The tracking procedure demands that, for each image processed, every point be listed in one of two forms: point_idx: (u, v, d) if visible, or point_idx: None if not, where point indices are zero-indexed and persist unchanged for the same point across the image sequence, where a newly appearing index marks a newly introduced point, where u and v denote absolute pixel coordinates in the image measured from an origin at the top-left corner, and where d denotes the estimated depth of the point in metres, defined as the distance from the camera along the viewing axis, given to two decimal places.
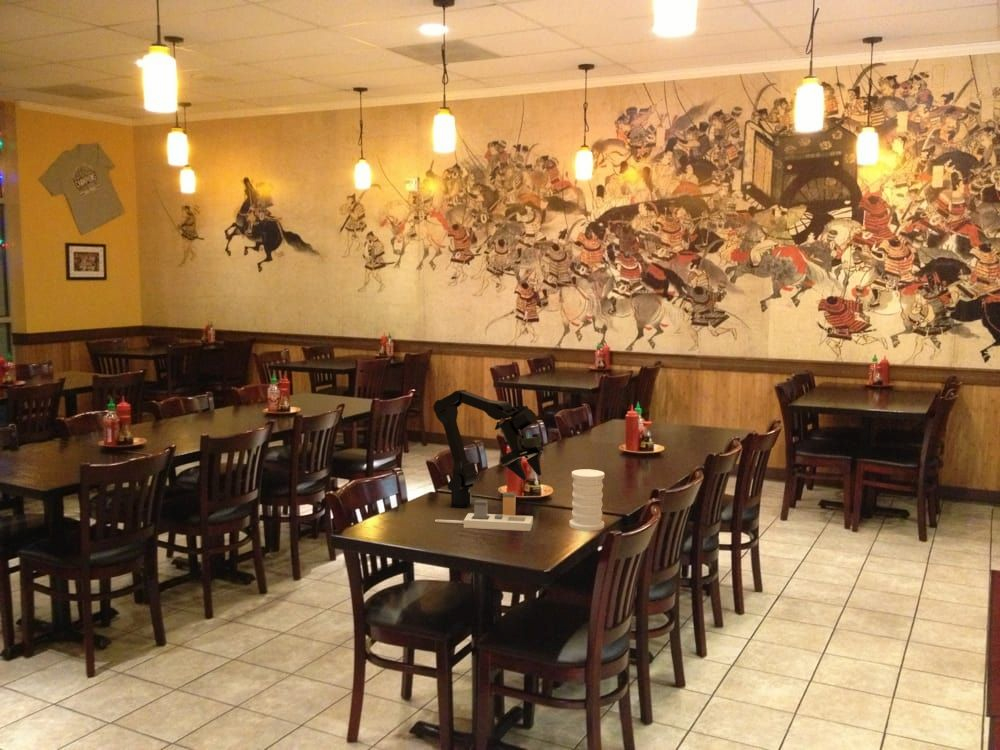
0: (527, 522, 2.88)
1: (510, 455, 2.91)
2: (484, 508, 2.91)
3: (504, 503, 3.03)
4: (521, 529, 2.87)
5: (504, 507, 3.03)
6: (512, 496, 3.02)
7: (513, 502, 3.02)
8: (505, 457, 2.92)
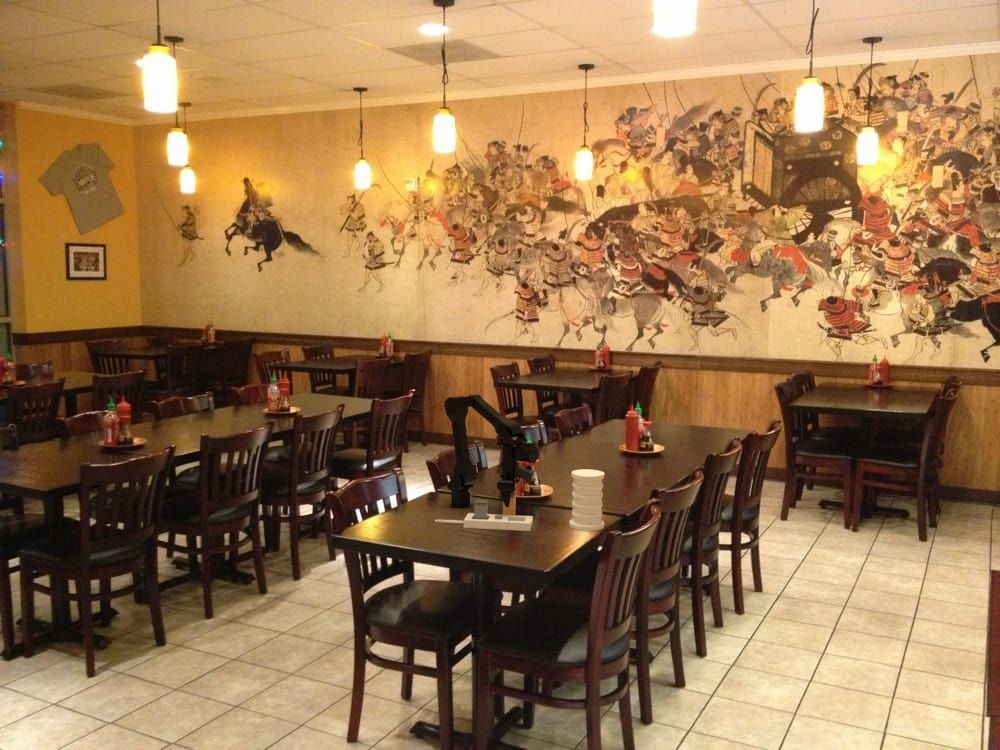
0: (527, 522, 2.88)
1: (512, 485, 2.93)
2: (484, 508, 2.91)
3: None
4: (521, 529, 2.87)
5: (504, 507, 3.03)
6: (512, 496, 3.02)
7: (513, 502, 3.02)
8: (506, 484, 2.94)
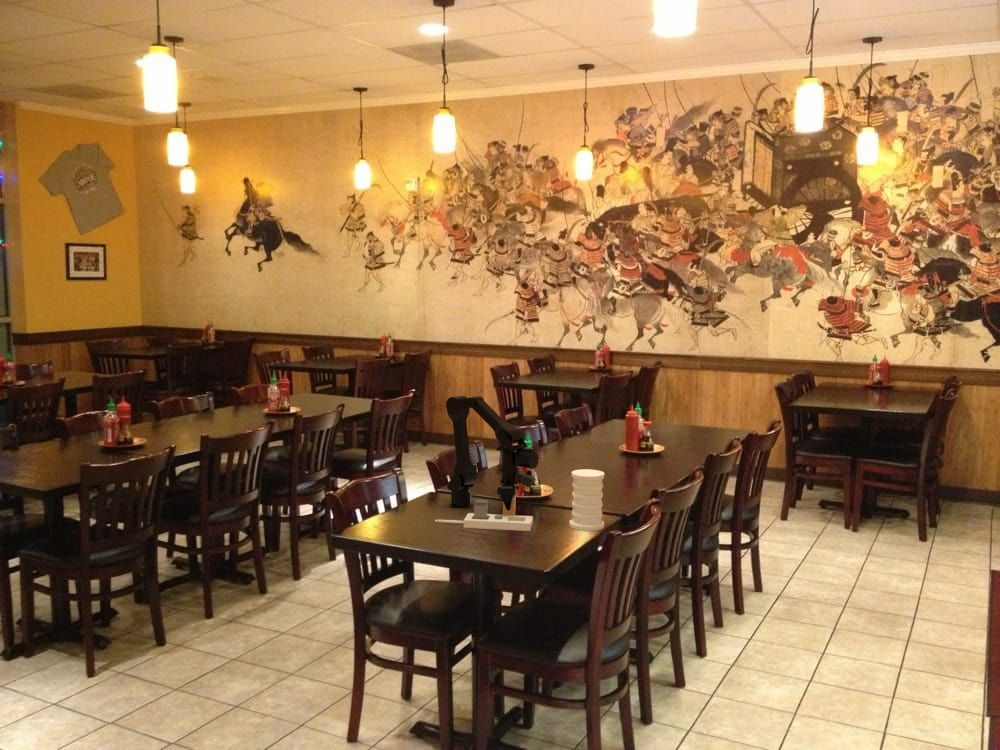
0: (527, 522, 2.88)
1: (512, 490, 2.94)
2: (484, 508, 2.91)
3: None
4: (521, 529, 2.87)
5: (504, 507, 3.03)
6: None
7: (513, 502, 3.02)
8: (506, 489, 2.94)
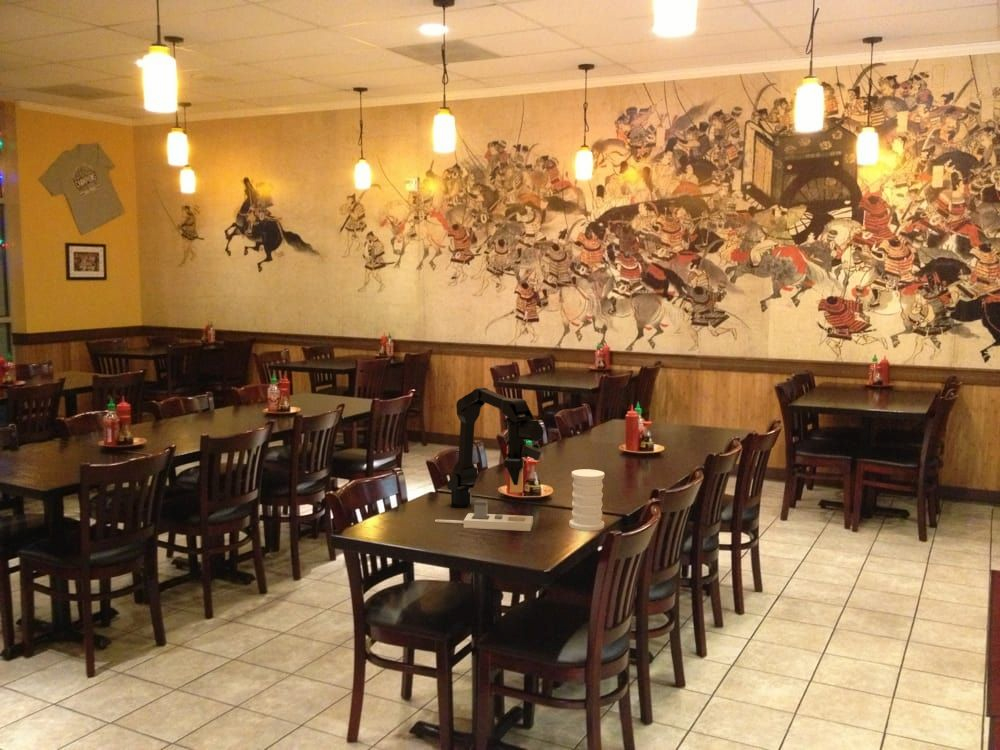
0: (527, 522, 2.88)
1: (520, 463, 2.83)
2: (484, 508, 2.91)
3: None
4: (521, 529, 2.87)
5: (511, 482, 2.92)
6: None
7: (520, 476, 2.92)
8: (513, 462, 2.83)
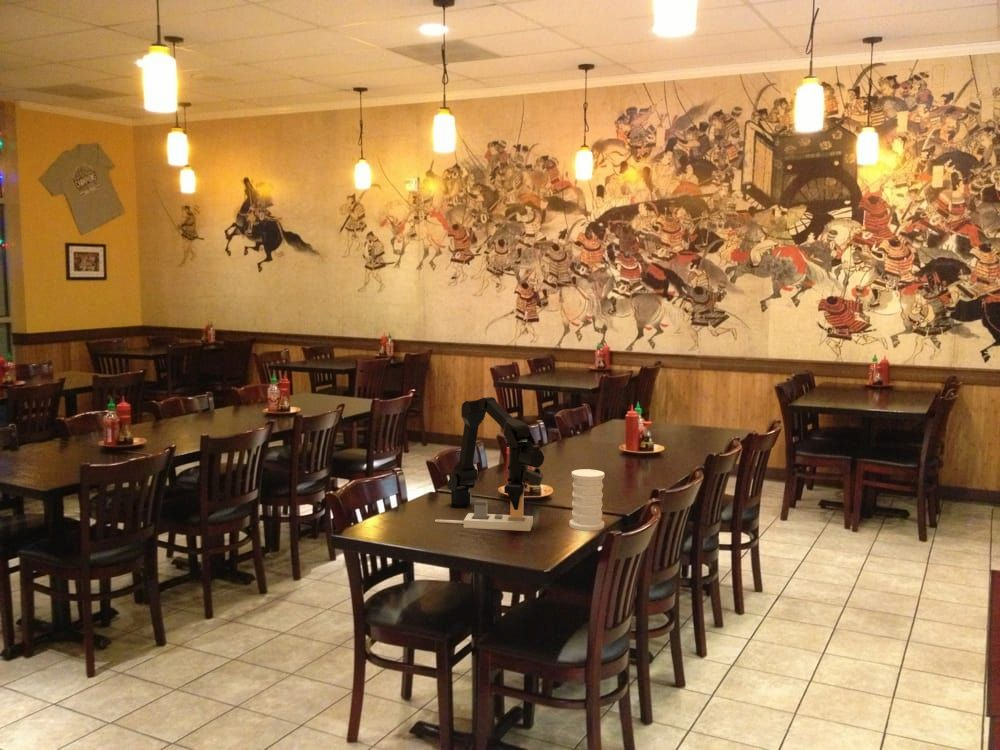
0: (527, 522, 2.88)
1: (520, 489, 2.81)
2: (484, 508, 2.91)
3: None
4: (521, 529, 2.87)
5: (512, 506, 2.90)
6: None
7: (521, 501, 2.89)
8: (513, 488, 2.81)
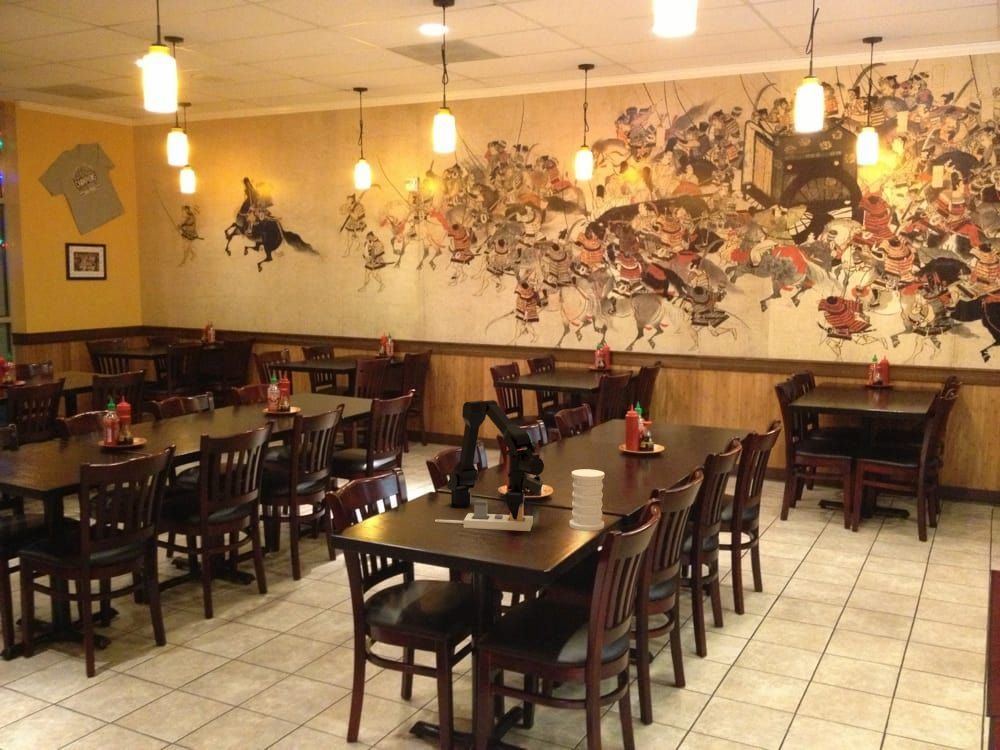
0: (527, 522, 2.88)
1: (520, 497, 2.81)
2: (484, 508, 2.91)
3: None
4: (521, 529, 2.87)
5: (511, 517, 2.90)
6: (520, 506, 2.90)
7: (521, 512, 2.90)
8: (513, 496, 2.81)
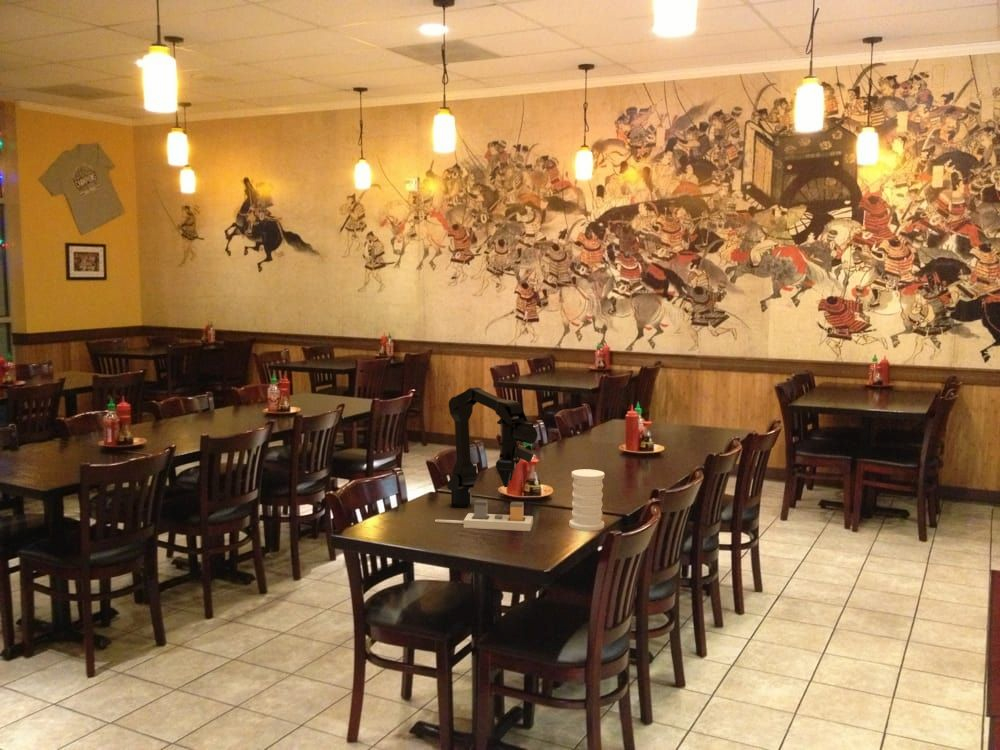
0: (527, 522, 2.88)
1: (511, 465, 2.88)
2: (484, 508, 2.91)
3: (511, 513, 2.90)
4: (521, 529, 2.87)
5: (511, 517, 2.90)
6: (520, 506, 2.90)
7: (521, 512, 2.90)
8: (505, 463, 2.89)
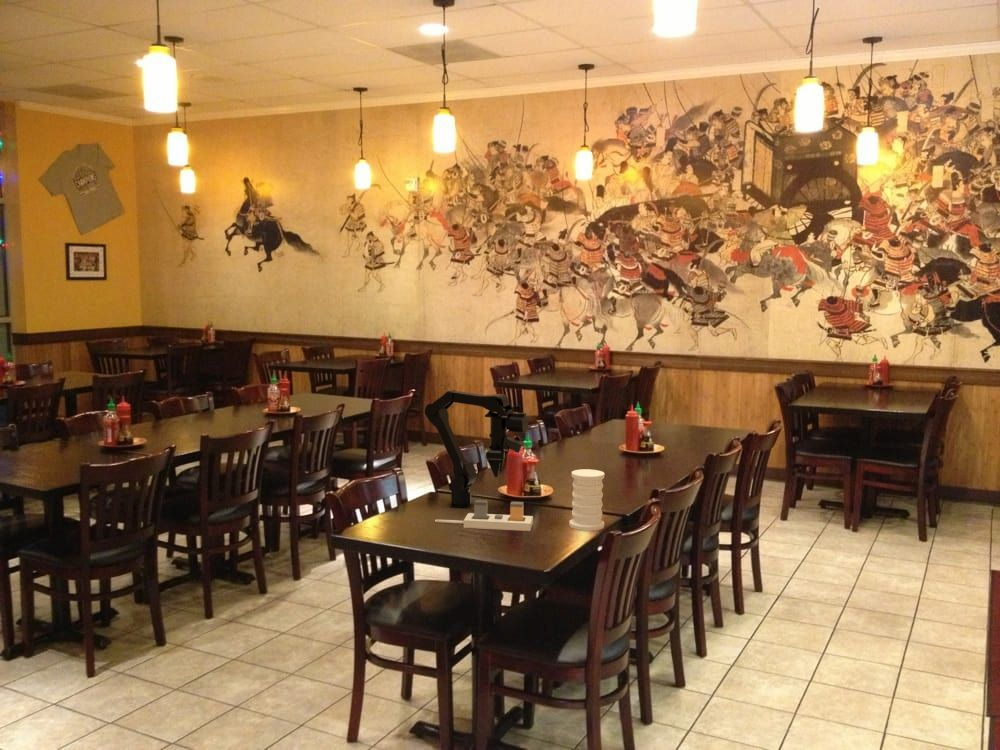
0: (527, 522, 2.88)
1: (501, 455, 3.00)
2: (484, 508, 2.91)
3: (511, 513, 2.90)
4: (521, 529, 2.87)
5: (511, 517, 2.90)
6: (520, 506, 2.90)
7: (521, 512, 2.90)
8: (494, 454, 3.00)
